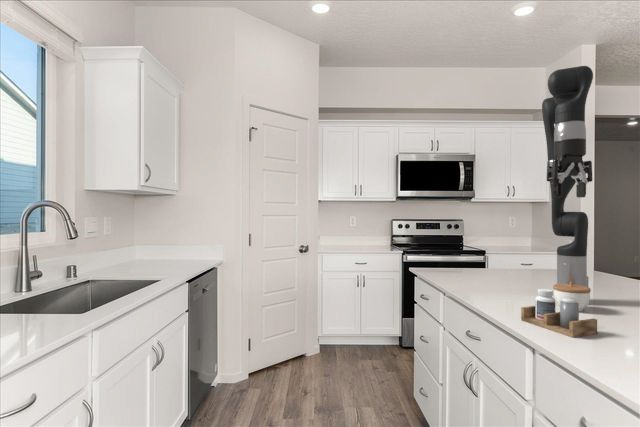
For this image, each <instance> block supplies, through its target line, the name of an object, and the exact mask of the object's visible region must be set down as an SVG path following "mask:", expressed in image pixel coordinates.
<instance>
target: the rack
mask: <svg viewBox="0 0 640 427" xmlns="http://www.w3.org/2000/svg"><path fill="white" fill-rule="evenodd" d="M520 310H521V312H520V318H521V321H522V322H526V323H528V324H532V325H535V326H537V327H541V328H543V329H546V330H549V331H552V332H555V333H559V334H561V335H564V336H567V337H570V338H578V337H585V336H593V335H598V319H596V318H589V319H588V318H587V319H586V318H585V319H579V320H578V321H570V322H569V329H565V328H562V327H560V311H557V312H556V311H555V313H548V314H544V321H541V320H538V319H536V317H535V305H529V306H522V307H521V308H520Z"/></svg>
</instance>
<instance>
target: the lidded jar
mask: <svg viewBox="0 0 640 427" xmlns="http://www.w3.org/2000/svg"><path fill="white" fill-rule="evenodd" d="M552 288H553V298H554V299H555V303H556V304H557V306H559V307H560V301H562V298H564V297H567V298H574V299H577V303H579V313H580V312H583V310H584V309H586V308H587V306H588V305H589V303H590V301H591V300H590V299H591V292H592V289H591V288H590V287H589V286H588V287H586V286H582V285H575V284H573V282H570V284H557V283H556V284H553V285H552Z"/></svg>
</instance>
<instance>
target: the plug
mask: <svg viewBox="0 0 640 427" xmlns="http://www.w3.org/2000/svg"><path fill="white" fill-rule="evenodd" d="M559 312H560V327H562V328H565V329H569V322H570V321H578V320H580V319H579V318H580V312H579V303H577V299H574V298H567V297H564V298H562V301H560V306H559Z"/></svg>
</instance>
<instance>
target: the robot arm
mask: <svg viewBox="0 0 640 427" xmlns="http://www.w3.org/2000/svg"><path fill="white" fill-rule="evenodd" d="M593 79H594V73H593V70H592V68H591V67H590V66H588V65H580V66H573V67H567V68H562V69H557V70H554V71H553V72H552V73H550V75H549V76H548V79H547V89H548V92H549V94H550V95H551V96H552V97H548V98H545V99H543V101H542V102H541V114H542V120H543V125H544V126H543V127H544V134H545V141H546V149H547V151H546V152H547V163H546V164H547V165H546V182H549V188H550V194H551V196H550V197H551V198H550V199H551V227H552V231H553V234H554V235H555V236H557V237H567V238H568V237H572V238H574V239H573V241H572V242H570V243H568V244H564V245H559V246H558V247H557V248H556V284H570V282H573V284H575V285H582V286H586V287H589V276H588V274H587V273H588V272H587V271H588V270H587V269H588V267H587V266H588V265H587V264H588V263H587V262H588V260H587V258H588V257H587V255H588V253H587V252H588V235H589V234H588V233H589V218H588V215H587V213H586V212H583V211H565V209H564V208H565V207H564V206H565V201H566V198H568V195H569V194H570V192H571V191H572V190H573V188H574V186H575V185H576V192H575V194H576V196H575V197H576V198H578V199H579V198H586V195H587V184H588V183H589V182H591V183H592V182H593V163H592V161H591V160H585V161H583V158H584V157H585V155H586V154H587V128H586V104H587V103H586V102H587V98H588V94H589V92H590V88H591V86H592V84H593ZM586 175H587V177H586Z"/></svg>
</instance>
